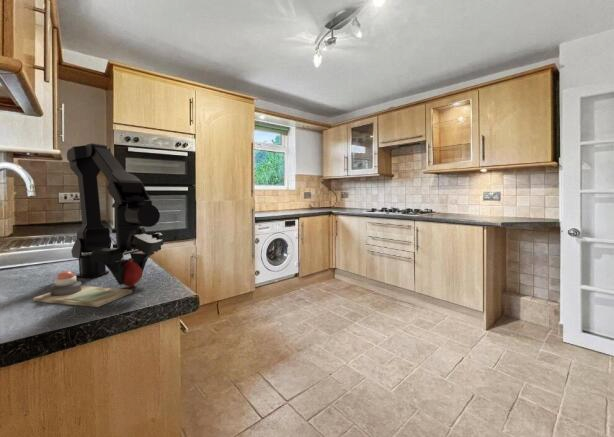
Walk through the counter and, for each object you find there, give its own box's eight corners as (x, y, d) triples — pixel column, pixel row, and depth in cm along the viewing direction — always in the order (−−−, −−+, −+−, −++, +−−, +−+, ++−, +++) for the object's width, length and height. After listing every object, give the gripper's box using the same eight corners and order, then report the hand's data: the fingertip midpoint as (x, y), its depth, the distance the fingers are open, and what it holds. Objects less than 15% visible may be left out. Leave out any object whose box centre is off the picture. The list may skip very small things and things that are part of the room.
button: (50, 286, 72) (49, 272, 72) (67, 281, 76) (66, 268, 76) (64, 287, 71) (63, 273, 71) (80, 282, 75) (80, 269, 75)
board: (33, 301, 70) (32, 289, 69) (74, 288, 79) (73, 278, 79) (97, 306, 66) (97, 294, 66) (132, 292, 76) (131, 282, 76)
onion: (131, 291, 77) (130, 261, 77) (112, 289, 78) (111, 260, 78) (147, 284, 83) (146, 256, 82) (130, 283, 84) (128, 255, 83)
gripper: (126, 229, 69) (129, 294, 70) (176, 222, 87) (177, 274, 88) (86, 228, 71) (89, 291, 72) (143, 221, 89) (145, 272, 90)
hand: (130, 281), depth 80 cm, fingers closed on onion, 6 cm apart
